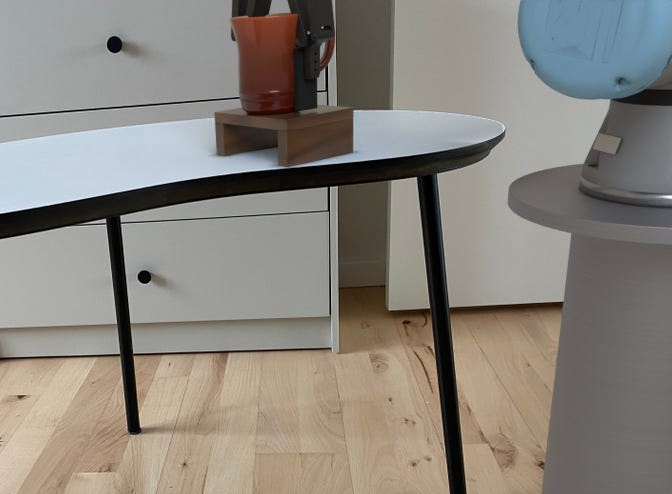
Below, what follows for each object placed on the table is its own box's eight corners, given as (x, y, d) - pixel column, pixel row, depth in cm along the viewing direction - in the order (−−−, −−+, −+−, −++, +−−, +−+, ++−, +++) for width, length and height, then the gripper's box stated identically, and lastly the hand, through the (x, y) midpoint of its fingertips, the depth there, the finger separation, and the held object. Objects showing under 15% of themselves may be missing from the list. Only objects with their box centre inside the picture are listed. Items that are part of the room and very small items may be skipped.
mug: (247, 119, 91) (242, 18, 86) (225, 111, 98) (220, 17, 94) (349, 108, 93) (350, 9, 89) (320, 101, 101) (319, 9, 97)
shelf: (353, 152, 96) (353, 107, 94) (287, 166, 91) (286, 119, 89) (279, 142, 106) (278, 101, 104) (216, 154, 101) (214, 112, 99)
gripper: (190, -106, 93) (204, 106, 102) (317, -136, 77) (319, 117, 86) (243, -106, 96) (251, 98, 106) (374, -135, 81) (370, 108, 90)
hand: (281, 107), depth 96 cm, fingers closed on mug, 7 cm apart
